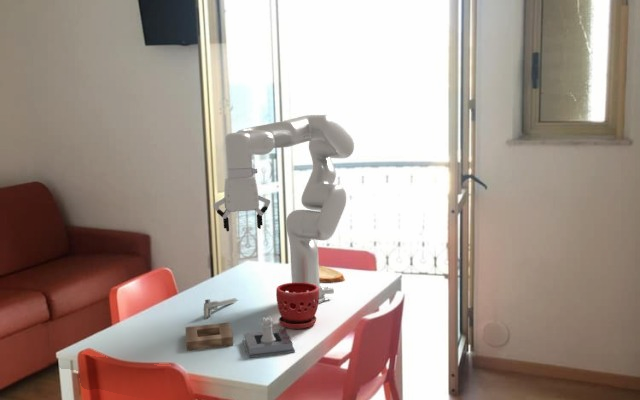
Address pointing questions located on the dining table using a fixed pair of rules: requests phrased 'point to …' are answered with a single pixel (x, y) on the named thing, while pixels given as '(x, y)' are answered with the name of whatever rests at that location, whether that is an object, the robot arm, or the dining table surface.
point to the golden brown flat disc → (329, 275)
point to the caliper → (215, 305)
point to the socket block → (208, 336)
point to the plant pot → (297, 304)
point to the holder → (267, 344)
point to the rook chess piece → (267, 331)
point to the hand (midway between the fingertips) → (243, 229)
